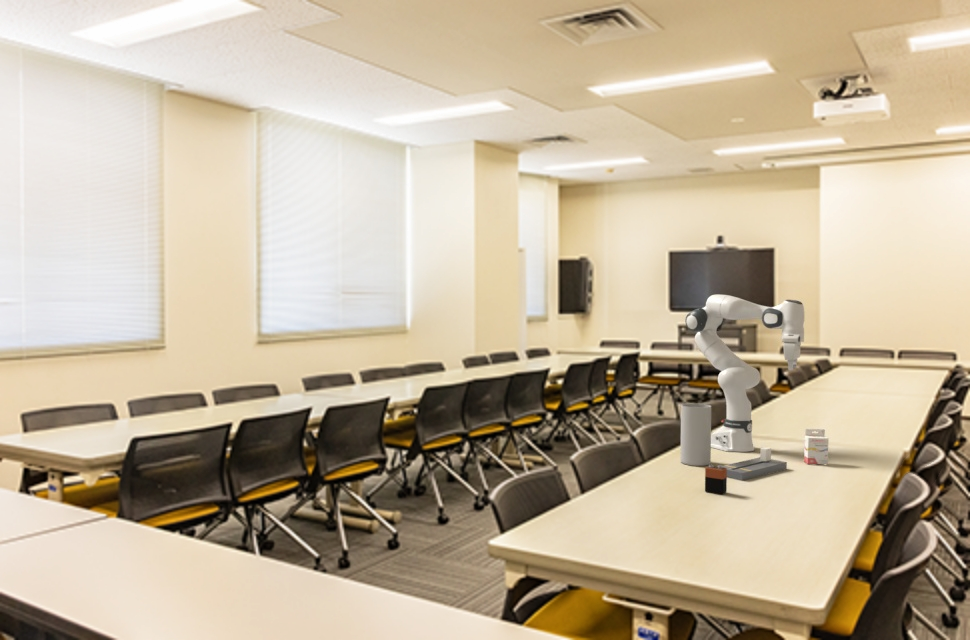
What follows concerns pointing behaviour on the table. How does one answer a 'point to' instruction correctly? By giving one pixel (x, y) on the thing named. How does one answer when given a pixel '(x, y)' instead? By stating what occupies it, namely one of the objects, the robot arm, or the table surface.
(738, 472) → the console
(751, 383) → the robot arm
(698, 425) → the cylinder vase
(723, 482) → the battery
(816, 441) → the ink cartridge box
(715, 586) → the table surface
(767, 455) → the fader
